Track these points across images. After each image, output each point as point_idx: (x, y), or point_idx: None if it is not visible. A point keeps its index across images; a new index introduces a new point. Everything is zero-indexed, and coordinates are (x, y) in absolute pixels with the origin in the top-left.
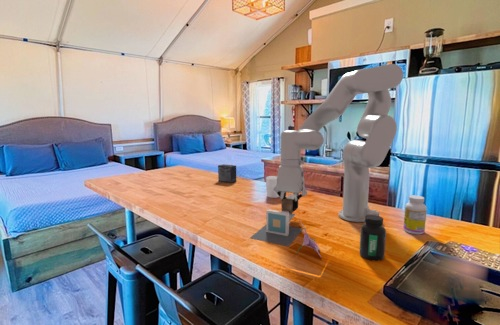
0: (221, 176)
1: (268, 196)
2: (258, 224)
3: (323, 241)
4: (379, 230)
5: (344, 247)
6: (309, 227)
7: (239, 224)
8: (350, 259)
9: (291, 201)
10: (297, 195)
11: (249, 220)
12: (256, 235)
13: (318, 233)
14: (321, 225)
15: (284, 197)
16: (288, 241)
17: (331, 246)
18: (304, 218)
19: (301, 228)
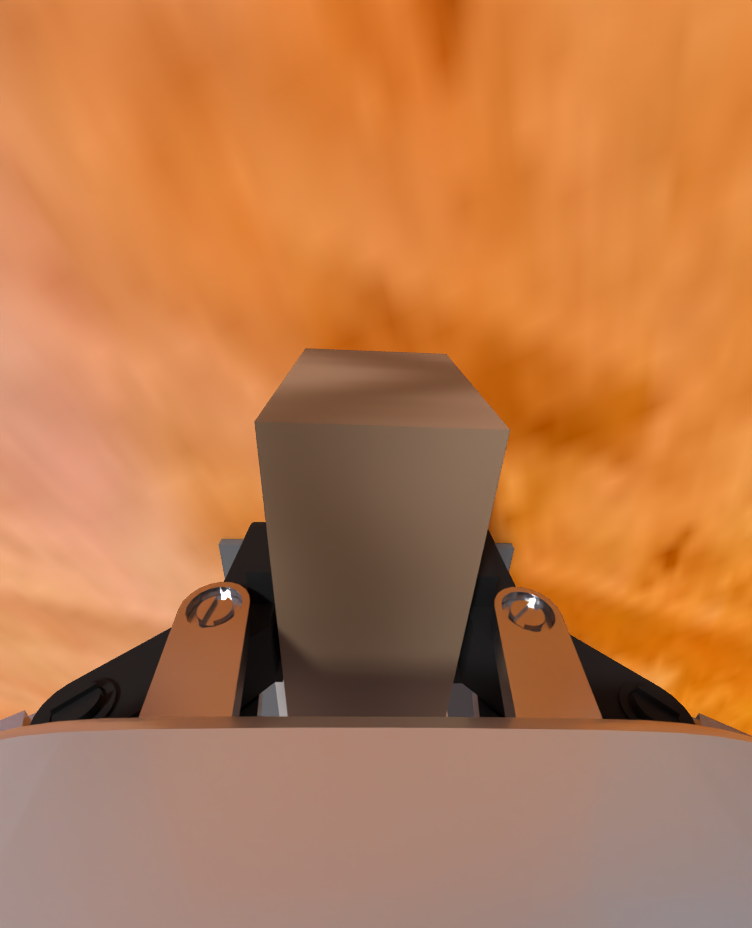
0: None
1: None
2: (168, 580)
3: (642, 638)
4: None
5: (749, 655)
6: (554, 488)
7: (55, 625)
8: (741, 727)
9: None
10: (545, 688)
11: (50, 543)
12: (269, 715)
13: (621, 558)
14: (662, 407)
15: (267, 675)
16: (455, 711)
17: (679, 667)
18: (488, 282)
19: (499, 551)
